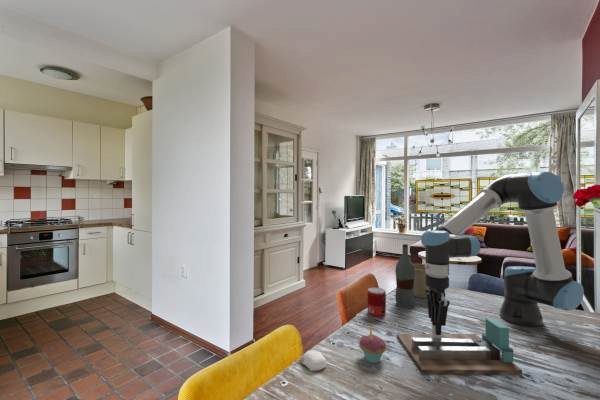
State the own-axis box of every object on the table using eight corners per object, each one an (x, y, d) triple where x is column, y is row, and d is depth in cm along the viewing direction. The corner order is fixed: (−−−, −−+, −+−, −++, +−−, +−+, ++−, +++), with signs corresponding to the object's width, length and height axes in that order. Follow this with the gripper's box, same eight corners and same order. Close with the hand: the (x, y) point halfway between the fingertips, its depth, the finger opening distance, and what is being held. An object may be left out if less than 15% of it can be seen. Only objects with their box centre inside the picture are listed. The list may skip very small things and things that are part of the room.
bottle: (392, 301, 147) (393, 243, 147) (410, 301, 147) (411, 243, 147) (398, 308, 138) (398, 246, 138) (417, 308, 138) (418, 246, 138)
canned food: (386, 318, 127) (386, 293, 127) (367, 316, 129) (367, 292, 129) (384, 311, 135) (384, 287, 135) (367, 310, 136) (367, 286, 136)
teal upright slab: (490, 344, 101) (490, 316, 101) (513, 362, 90) (513, 330, 90) (482, 344, 101) (482, 316, 101) (503, 362, 90) (503, 330, 90)
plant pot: (410, 300, 149) (410, 269, 149) (405, 291, 164) (405, 263, 164) (441, 301, 147) (441, 270, 147) (432, 292, 162) (432, 264, 162)
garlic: (299, 361, 94) (299, 349, 94) (317, 356, 97) (317, 345, 97) (310, 374, 86) (310, 362, 86) (329, 369, 89) (330, 357, 89)
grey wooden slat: (470, 347, 99) (470, 338, 99) (474, 351, 97) (474, 342, 97) (411, 346, 100) (411, 337, 100) (414, 349, 98) (414, 340, 98)
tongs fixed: (485, 348, 99) (485, 338, 99) (499, 360, 92) (500, 350, 92) (412, 347, 99) (412, 338, 99) (421, 359, 92) (421, 349, 92)
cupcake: (381, 369, 89) (381, 330, 89) (355, 360, 93) (355, 324, 93) (388, 356, 96) (388, 320, 96) (364, 349, 101) (364, 315, 101)
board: (475, 337, 110) (475, 334, 110) (522, 374, 87) (522, 370, 87) (396, 336, 110) (396, 333, 110) (422, 373, 87) (422, 369, 87)
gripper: (418, 270, 107) (418, 333, 107) (435, 280, 94) (434, 352, 94) (438, 270, 107) (438, 333, 107) (457, 280, 94) (457, 352, 94)
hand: (436, 342), depth 101 cm, fingers closed
